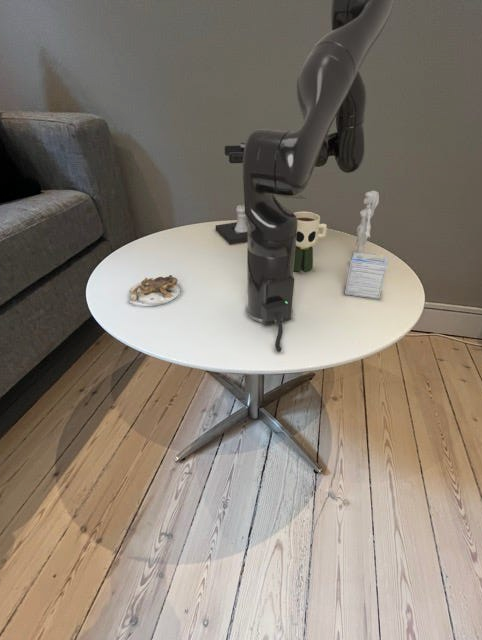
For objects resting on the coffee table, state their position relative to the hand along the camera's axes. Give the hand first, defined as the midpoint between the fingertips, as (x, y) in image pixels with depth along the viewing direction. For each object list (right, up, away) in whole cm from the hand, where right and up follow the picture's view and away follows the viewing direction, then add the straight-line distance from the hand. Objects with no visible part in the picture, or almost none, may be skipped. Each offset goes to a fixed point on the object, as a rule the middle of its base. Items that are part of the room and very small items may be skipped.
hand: (226, 154), depth 99 cm
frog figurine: (-16, -38, -10) cm, 42 cm away
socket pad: (+3, -14, +17) cm, 22 cm away
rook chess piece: (+3, -14, +18) cm, 23 cm away
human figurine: (+34, -27, +3) cm, 44 cm away
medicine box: (+32, -38, -8) cm, 50 cm away
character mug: (+19, -29, +1) cm, 35 cm away
